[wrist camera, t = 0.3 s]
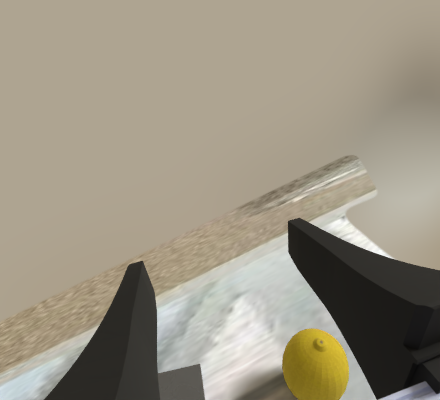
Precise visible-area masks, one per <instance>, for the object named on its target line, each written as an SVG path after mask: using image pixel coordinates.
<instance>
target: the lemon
mask: <svg viewBox="0 0 440 400" xmlns="http://www.w3.org/2000/svg"><path fill="white" fill-rule="evenodd" d="M282 369H283V374H284V379H285V381H286V383H287V386H288V388H289V389H290V391H291V392H292V394H293V395H294V396H295V397H296V398H297V399H298V400H339V399H340V398H341V396H342V395H343V393H344V392H345V390H346V386H347V383H348V379H349V366H348V361H347V357H346V354H345V352H344V350H343V348H342V346H341V345H340V344H339V342H338V341H337V340H336V339H335V338H334V337H333V336H331V335H330V334H328V333H327V332H325V331H322V330H319V329H305V330H302V331H300V332H298V333H297V334H295V335H294V336H293V337H292V338H291V340H290V341H289V343H288V344H287V346H286V348H285V351H284V354H283V362H282Z"/></svg>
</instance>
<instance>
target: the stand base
mask: <svg viewBox="0 0 440 400" xmlns="http://www.w3.org/2000/svg"><path fill="white" fill-rule="evenodd" d="M158 382H159V392H160V400H205V397H204V389H203V382H202V374H201V367H200V364H198V365H193V366H189V367H185V368H180V369H176V370H172V371H167V372H163V373H158Z"/></svg>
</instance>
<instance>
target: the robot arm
mask: <svg viewBox="0 0 440 400" xmlns="http://www.w3.org/2000/svg"><path fill="white" fill-rule="evenodd" d="M288 251H289V254H290V256H291V258H292V260H293V262H294V263H295V265H296V267H297V269H298V270H299V272H300V273H301V274H302V276H303V277H304V278H305V280H306V281H307V283H308V284H309V285H310V287H311V288H312V289H313V291H314V292H315V293H316V295H317V296H318V297H319V299H320V300H321V301H322V303H323V304H324V305H325V307H326V308H327V310H328V311H329V313H330V314H331V316H332V318H333V319H334V321H335V323H336V324H337V326H338V328H339V329H340V331H341V333H342V335H343V336H344V338H345V340H346V342H347V344H348V345H349V347H350V349H351V351H352V352H353V354H354V356H355V358H356V360H357V362H358V364H359V366H360V367H361V369H362V371H363V373H364V375H365V377H366V379H367V381H368V383H369V385H370V387H371V389H372V391H373V393H374V395H375V397H376V399H377V400H440V270H435V269H430V268H425V267H420V266H416V265H413V264H408V263H405V262H401V261H398V260H394V259H391V258H388V257H385V256H382V255H379V254H376V253H373V252H370V251H368V250H365V249H363V248H360V247H358V246H355V245H353V244H351V243H348V242H346V241H344V240H342V239H340V238H338V237H336V236H334V235H332V234H330V233H328V232H326V231H324V230H322V229H320V228H318V227H316V226H314V225H312V224H310V223H309V222H307V221H305V220H303V219H301V218H297V219H294V220H290V221H288ZM44 400H160V392H159V382H158V372H157V309H156V300H155V293H154V289H153V287H152V284H151V281H150V279H149V276H148V273H147V271H146V268H145V266H144V263H143V261H140V262H137V263H133V264H129V266H128V267H127V270H126V272H125V275H124V277H123V280H122V282H121V284H120V287H119V289H118V291H117V293H116V295H115V297H114V299H113V302H112V304H111V306H110V307H109V309H108V311H107V313H106V315H105V317H104V318H103V320H102V322H101V324H100V326H99V327H98V329H97V331H96V332H95V334H94V335H93V337H92V338H91V340H90V342H89V343H88V345H87V346H86V347H85V349H84V350H83V352H82V353H81V355H80V356H79V357H78V359H77V360H76V362H75V363H74V364H73V366H72V367H71V368H70V369H69V371H68V372H67V373H66V374H65V376H64V377H63V378H62V379H61V380H60V382H59V383H58V384H57V385H56V387H55V388H54V389H53V390H52V391H51V392H50V394H49V395H48V396H47V397H46V398H45V399H44Z"/></svg>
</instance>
